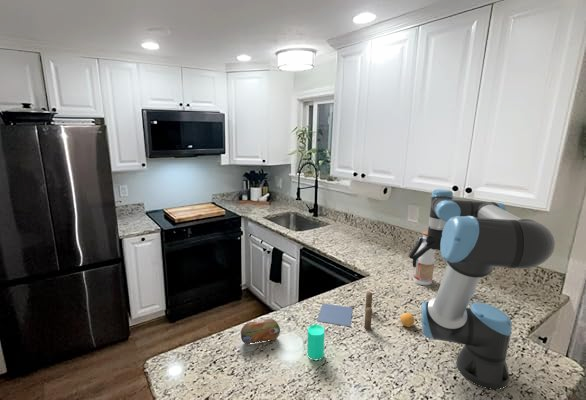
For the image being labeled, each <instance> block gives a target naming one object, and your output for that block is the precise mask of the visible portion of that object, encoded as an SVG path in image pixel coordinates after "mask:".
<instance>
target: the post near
mask: <svg viewBox="0 0 586 400" xmlns="http://www.w3.org/2000/svg"><path fill="white" fill-rule="evenodd" d="M364 310H365V309H364ZM364 312H365V313H364V326H363V327H364V328H365V329H366V331H371V330H370V329H372V318H373V317H372V316H373V308H372V307H371V308H370V307H366V310H365V311H364ZM364 328H363V329H364ZM365 329H364V330H365Z"/></svg>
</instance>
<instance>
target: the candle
mask: <svg viewBox="0 0 586 400" xmlns="http://www.w3.org/2000/svg"><path fill="white" fill-rule="evenodd" d="M325 332H326V331H325V328H324V327H323V326H322V325H321V324H312V325H310V326H308V329H307V345H306V346H307V347H306V348H307V350H306V354H307V353H308V355H307V357H308V356H309V357H310V358H312V359H320V358H322V357H323V358H324V356H323V355H325V353H324V352H325ZM323 358H322V359H323Z"/></svg>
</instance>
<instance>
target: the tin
mask: <svg viewBox="0 0 586 400" xmlns="http://www.w3.org/2000/svg"><path fill="white" fill-rule="evenodd" d="M280 333H281V328H280V325H279V323H278V322H277V320H275V319H274V318H273V319H272V318H266V319H261V320H254V321H249V322H247V323H245V324H244V325H242V327H241V330H240V339H241V341H242V342H243V344H245V345H247V346H249V345H248V344H250V343H255V342H259V341H260V342H262V341H268V340H273V341H275V340H276V339H278V337H279V336H280Z"/></svg>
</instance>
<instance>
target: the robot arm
mask: <svg viewBox="0 0 586 400" xmlns="http://www.w3.org/2000/svg"><path fill="white" fill-rule="evenodd" d="M453 195H454V193H453V191H452V190H449V189H442V188H441V189H440V188H439V189H433V190H432V193H431V197H430V207H429V208H430V209H429V210H430V211H429V217H428V228H427V231H428V235H427V238H423V236H419V237H418V241H417V242H416V244H415V245H414V247H413V248H412V249H411V251H410V252H409V254H408V257H409V258H410V259H412V268H414V267H415V271H413V274H414V273H415V275H417V271H418V258H419V257H421V256H422V255H423V254H424V253H425V252H426V251H428V250H429V249H432V250H435V251H436V250H437V251H440V256H441V257H442V259H443V260H445V263H446V264H447V265H446V268H445V270H444V273H443V276H442V278H441V282H440V286H439V287H438V291H437V294H436V295H434V296H433V297H432V298H430V300H429V301H427V300H426V301H422V302H421V310H420V311H421V327H422V328H421V329H422V330H421V331H422V335H423V336H424V337H425V338H428V339H430V340H431V339H433V340H435V341H443V342H448V343H453V344H455V343H456V344H460V345H464V346H463V347H462V348H461V350H460V352H459V353H458V354H457V357H456V364H455V365H456V369H457V370H458V372H459V371H460V372H459V373H460V374H461V375H462V376H463V377H464V378H465V377H466V378H467V379H468V380H467V379H466V378H465V379H466V380H467V381H469V380H470V381H471V383H472V382H473V383H472V384H474V383H475V384H474V385H476V384H477V385H476V386H478V385H480V386H482V387H481V388H483V387H486V388H491V389H500V388H503V387H505V386H506V387H508V385H509V382H510V381H509V379H510V372H509V368H508V363H507V355H508V349H509V345H510V341H511V340H510V339H511V335H512V332H513V331H512V326H513V322H512V320H511V318H510V317H509V316H508V314H506V313H505V312H504V311H502V310H501V309H500V308H497V307H496V306H494V305H491V304H489V303H484V302H473V303H471V304H470V301H471V299H472V298H473V295H474V293H475V292H476V289H477V288H478V286H479V283H480V281H481V280H482V278H485V277H487V276H489V275H491V273H492V272H493V270H494V268H495V267H496V268H497V267H498V268H506V269H507V268H508V269H517V270H518V269H519V270H526V269H531V268H535V267H537V266H540V265H541V264H544V263H545V262H547V260H548V259H550V257H551V256H552V254H553V253H554V251H555V246H556V242H555V237H554V235H553V234H552V232H551V231H550V229H549V228H547V226H545V225H543V224H542V223H539V222H538V221H535V220H533V219H531V218H530V219H529V218H528V219H527V218H520V217H518V216H516V215H515V214H512V213H510V212H509V211H507V208H506V206H505V204H504V203H501V202H495V201H478V200H477V201H475V200H464V199H462V200H461V199H454V198H453V197H454V196H453ZM425 241H426V242H427V244H426V245H425V247H423V248H422V249H421V250H420V251H419V252H418V253H417V250H418V249H419V247H420V246H421V244H422V243H424V242H425ZM469 304H470V307H468V306H469ZM470 381H469V382H470ZM507 384H508V385H507ZM480 386H479V387H480ZM506 387H505V388H506ZM486 388H485V389H486ZM491 389H490V390H491ZM503 389H504V388H503ZM500 390H501V389H500Z"/></svg>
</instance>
